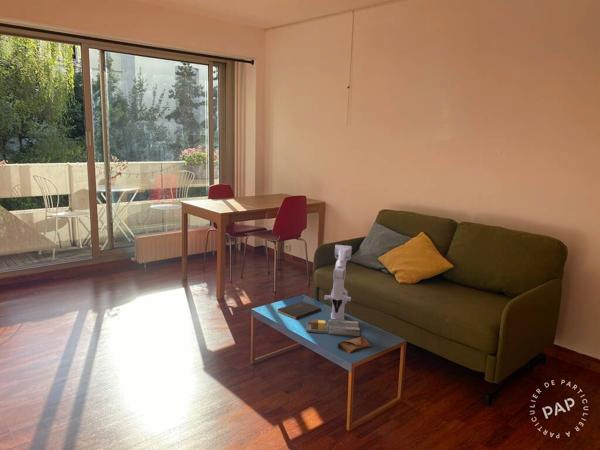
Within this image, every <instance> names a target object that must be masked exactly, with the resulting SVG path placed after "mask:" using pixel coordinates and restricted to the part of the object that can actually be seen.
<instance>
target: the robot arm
mask: <svg viewBox="0 0 600 450" xmlns="http://www.w3.org/2000/svg"><path fill="white" fill-rule="evenodd" d="M334 247H335V248H334V258H335V259H336V262H335V267H334V269H333V274H332V277H333V279H332V280H333V282H332V283H333V287H332V289H331V292H330V294H325V295H324V296H323V297H324V299H323V300H330V303H332V305H331V312H330V320H344V321H346V320H345V314H344V313H345V305H346V304H347V303H348V302H351V301H352V300H351V299H352V297H351V296H348V295H349V294H348V290H347V289H346V288H345V287H344V285H345V278H346V265H347V262H348V261H350V260H351V258H352V249H353V248H352V245H343V244H335V246H334Z"/></svg>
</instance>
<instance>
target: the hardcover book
mask: <svg viewBox="0 0 600 450" xmlns="http://www.w3.org/2000/svg"><path fill="white" fill-rule="evenodd" d="M276 310H277V312H278V313H279V314H282V315H284V316H287V317H289V318H291V319H294V320H295V321H296V320H300V319H301V318H305V317H307V316H310V315H313V314H315V313H316V314H317V313H319V312H321V311H322V308H321V307H319V306H318V305H317V306H316V305H314V304H311V303H308V302H307V301H306V302H305V301H303V300H302V301H298V302H295V303H292V304H290V305H289V304H288V305H286V306H283V307H280V308H277V309H276Z"/></svg>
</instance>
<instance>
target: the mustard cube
mask: <svg viewBox="0 0 600 450" xmlns="http://www.w3.org/2000/svg"><path fill="white" fill-rule="evenodd" d="M317 320H318V330H325V323H326V320H324V319H323V320H321V319H317Z"/></svg>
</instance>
